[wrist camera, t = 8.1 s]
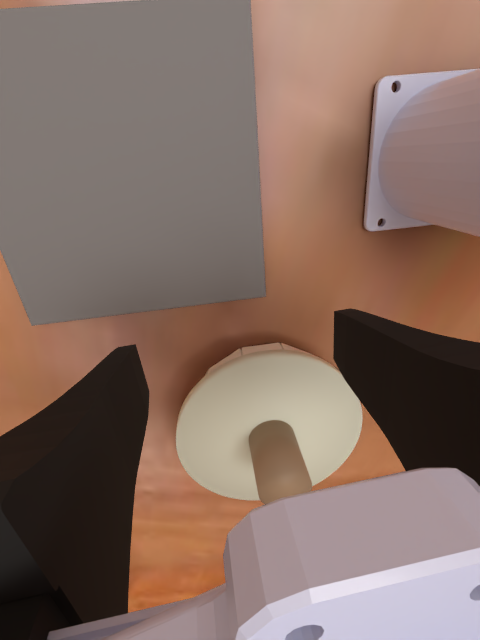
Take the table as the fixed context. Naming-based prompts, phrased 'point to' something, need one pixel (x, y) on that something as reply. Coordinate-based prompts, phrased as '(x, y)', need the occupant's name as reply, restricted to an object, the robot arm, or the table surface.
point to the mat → (129, 157)
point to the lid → (268, 425)
